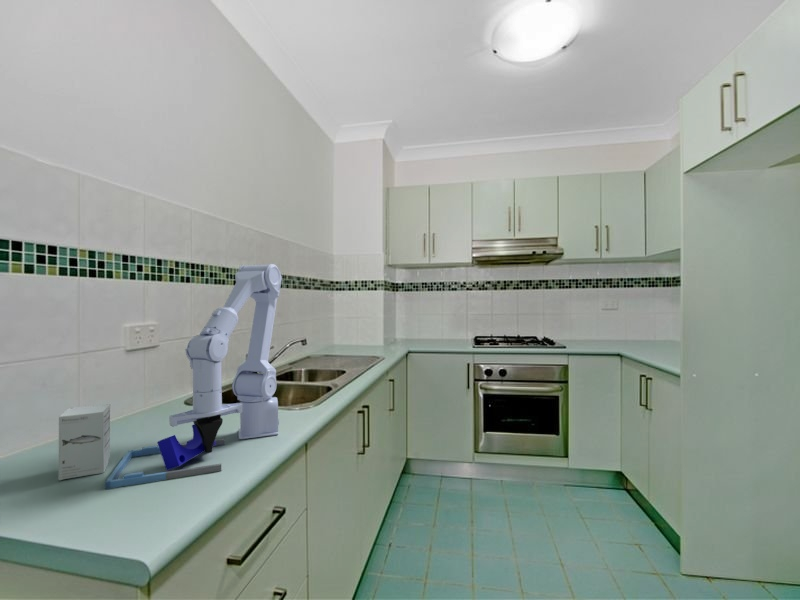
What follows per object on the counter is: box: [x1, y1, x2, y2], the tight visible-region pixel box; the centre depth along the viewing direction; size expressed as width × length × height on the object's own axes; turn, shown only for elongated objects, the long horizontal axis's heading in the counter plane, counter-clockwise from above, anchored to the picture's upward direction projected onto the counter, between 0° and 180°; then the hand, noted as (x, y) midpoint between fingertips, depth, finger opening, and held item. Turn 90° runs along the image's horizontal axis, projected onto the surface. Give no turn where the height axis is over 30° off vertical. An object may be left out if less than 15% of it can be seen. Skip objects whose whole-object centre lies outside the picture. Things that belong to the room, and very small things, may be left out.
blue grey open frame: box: [104, 438, 225, 490], centre depth 84 cm, size 20×17×2 cm
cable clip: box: [157, 423, 216, 471], centre depth 86 cm, size 12×4×6 cm, turn 172°
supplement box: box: [58, 403, 111, 481], centre depth 81 cm, size 7×7×13 cm
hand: (208, 451), depth 87 cm, fingers closed, pressing on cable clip
